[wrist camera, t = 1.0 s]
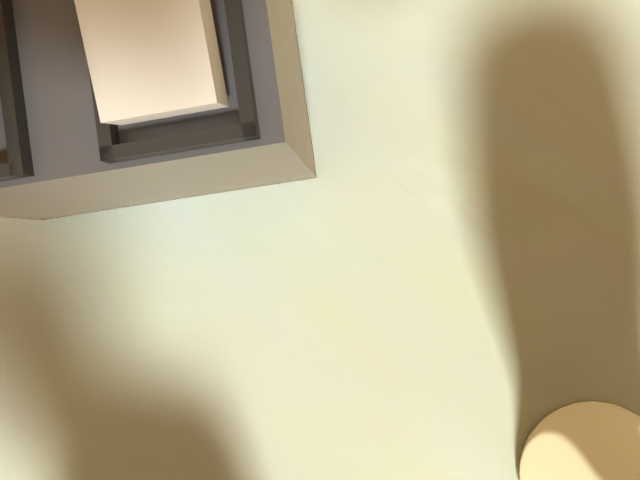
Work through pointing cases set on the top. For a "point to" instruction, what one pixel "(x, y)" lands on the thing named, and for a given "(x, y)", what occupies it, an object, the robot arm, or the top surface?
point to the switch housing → (149, 136)
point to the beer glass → (584, 444)
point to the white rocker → (151, 58)
